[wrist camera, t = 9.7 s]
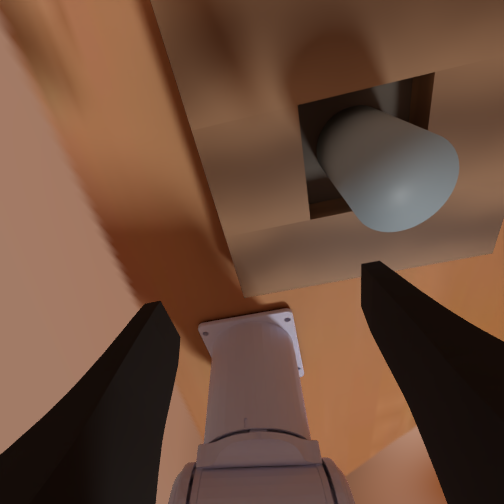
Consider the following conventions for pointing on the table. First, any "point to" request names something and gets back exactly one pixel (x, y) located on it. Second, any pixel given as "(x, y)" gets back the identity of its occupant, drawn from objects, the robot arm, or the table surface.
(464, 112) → the walnut socket block
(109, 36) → the table surface
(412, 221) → the slate pin
